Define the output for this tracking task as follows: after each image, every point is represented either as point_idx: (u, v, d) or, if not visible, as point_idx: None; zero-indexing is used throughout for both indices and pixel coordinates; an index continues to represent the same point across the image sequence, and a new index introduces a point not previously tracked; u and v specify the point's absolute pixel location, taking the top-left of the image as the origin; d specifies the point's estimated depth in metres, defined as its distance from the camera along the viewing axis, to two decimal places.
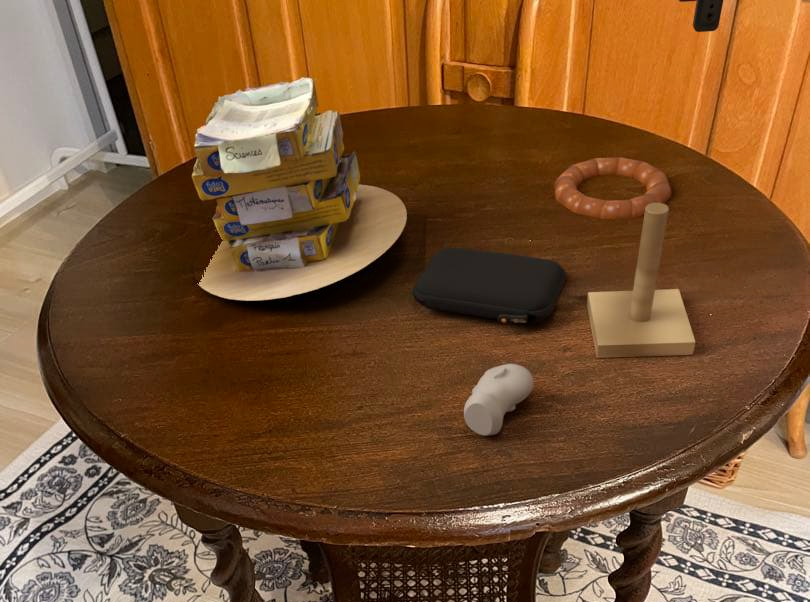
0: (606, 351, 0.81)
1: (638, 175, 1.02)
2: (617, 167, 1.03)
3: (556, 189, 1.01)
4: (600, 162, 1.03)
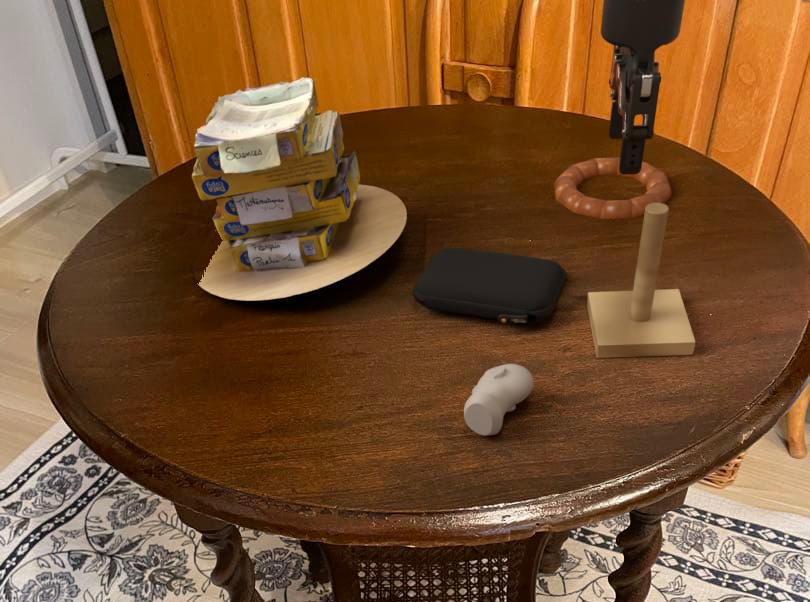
0: (606, 351, 0.81)
1: (638, 175, 1.02)
2: (617, 167, 1.03)
3: (556, 189, 1.01)
4: (600, 162, 1.03)
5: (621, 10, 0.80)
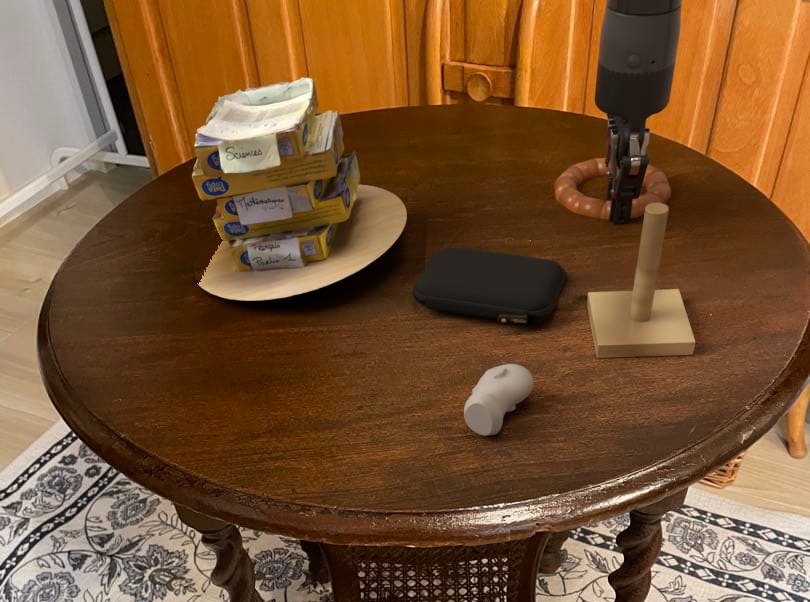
0: (606, 351, 0.81)
1: None
2: None
3: (556, 189, 1.01)
4: (600, 162, 1.03)
5: (613, 83, 0.84)
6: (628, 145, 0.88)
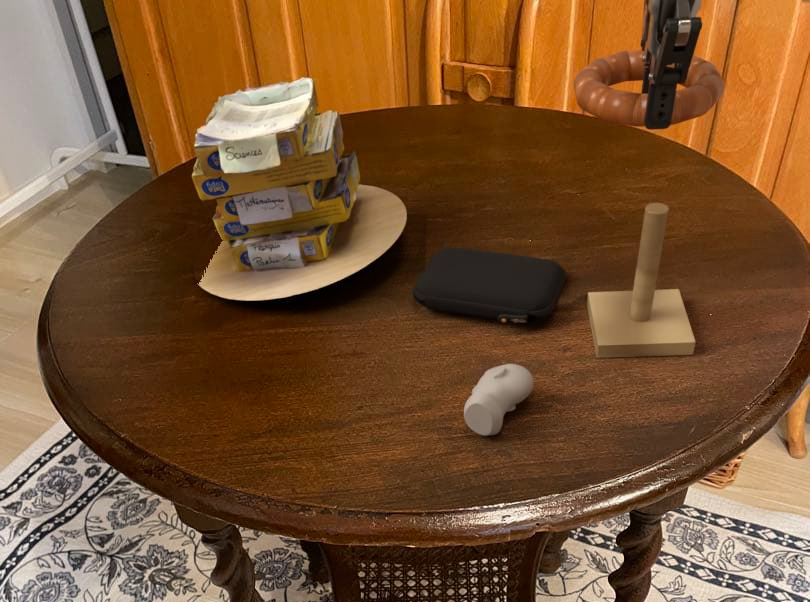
0: (606, 351, 0.81)
1: None
2: None
3: (577, 85, 0.79)
4: (632, 55, 0.82)
5: None
6: (674, 5, 0.66)
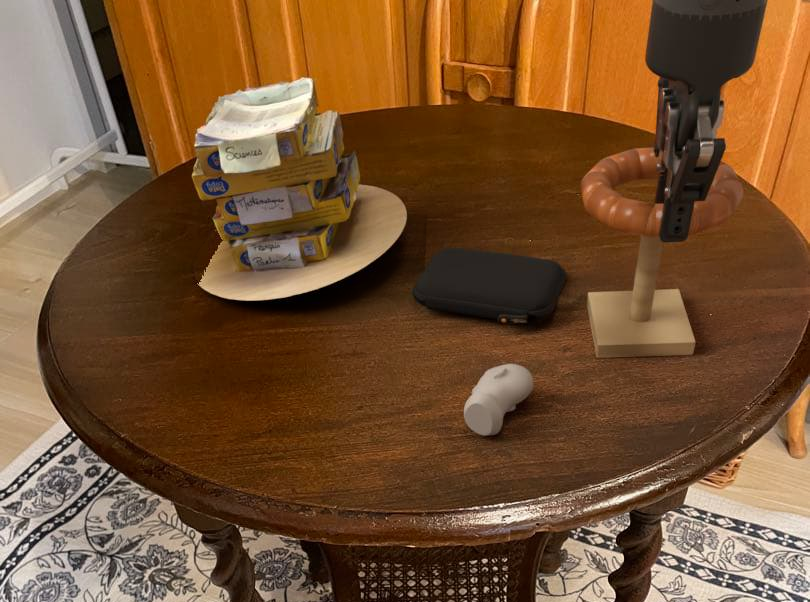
0: (606, 351, 0.81)
1: None
2: None
3: (584, 189, 0.74)
4: (643, 153, 0.76)
5: (677, 32, 0.58)
6: (695, 124, 0.61)
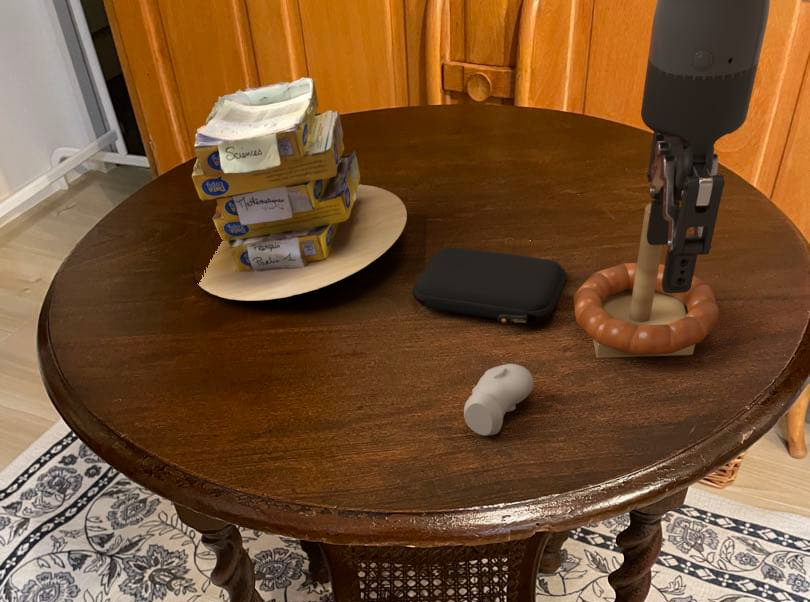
0: (606, 351, 0.81)
1: None
2: None
3: (576, 305, 0.82)
4: (631, 269, 0.84)
5: (671, 91, 0.60)
6: (691, 171, 0.62)
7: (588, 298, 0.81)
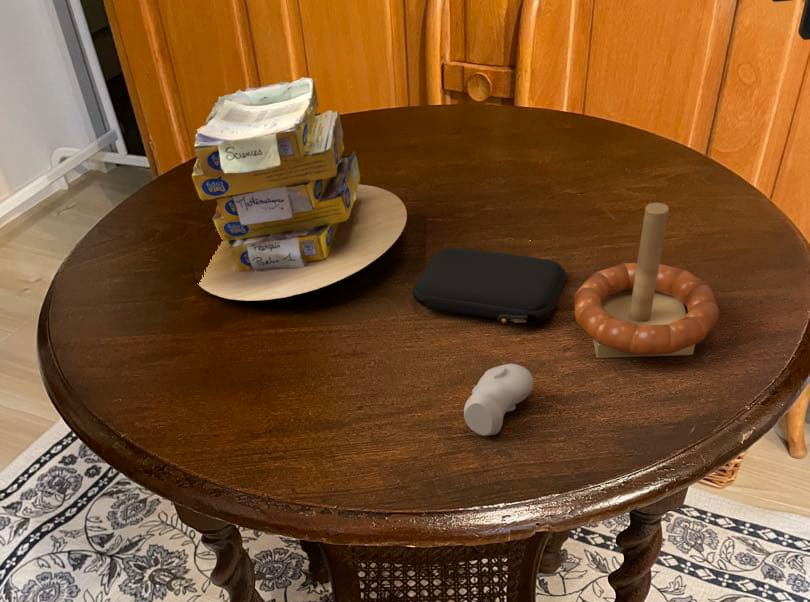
0: (606, 351, 0.81)
1: (677, 287, 0.83)
2: None
3: (576, 305, 0.82)
4: (631, 269, 0.84)
5: None
6: None
7: (588, 298, 0.81)
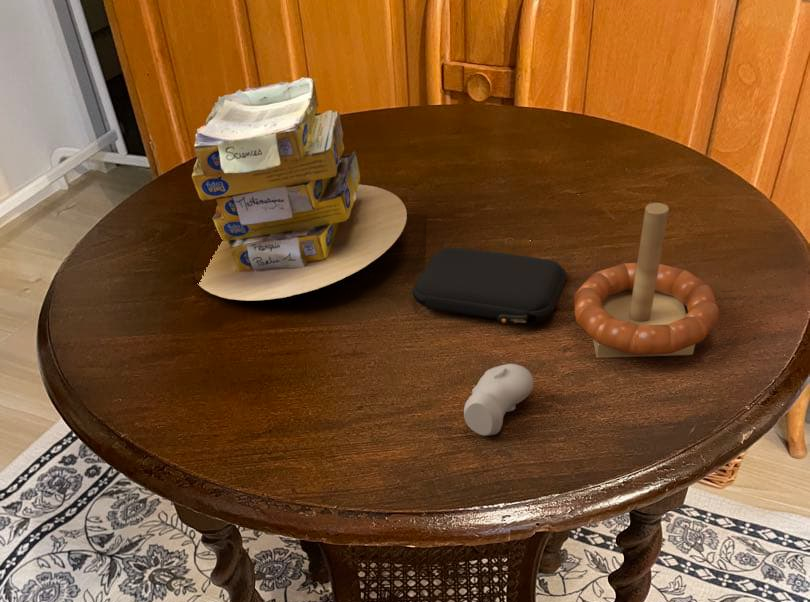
0: (606, 351, 0.81)
1: (677, 287, 0.83)
2: None
3: (576, 305, 0.82)
4: (631, 269, 0.84)
5: None
6: None
7: (588, 298, 0.81)
